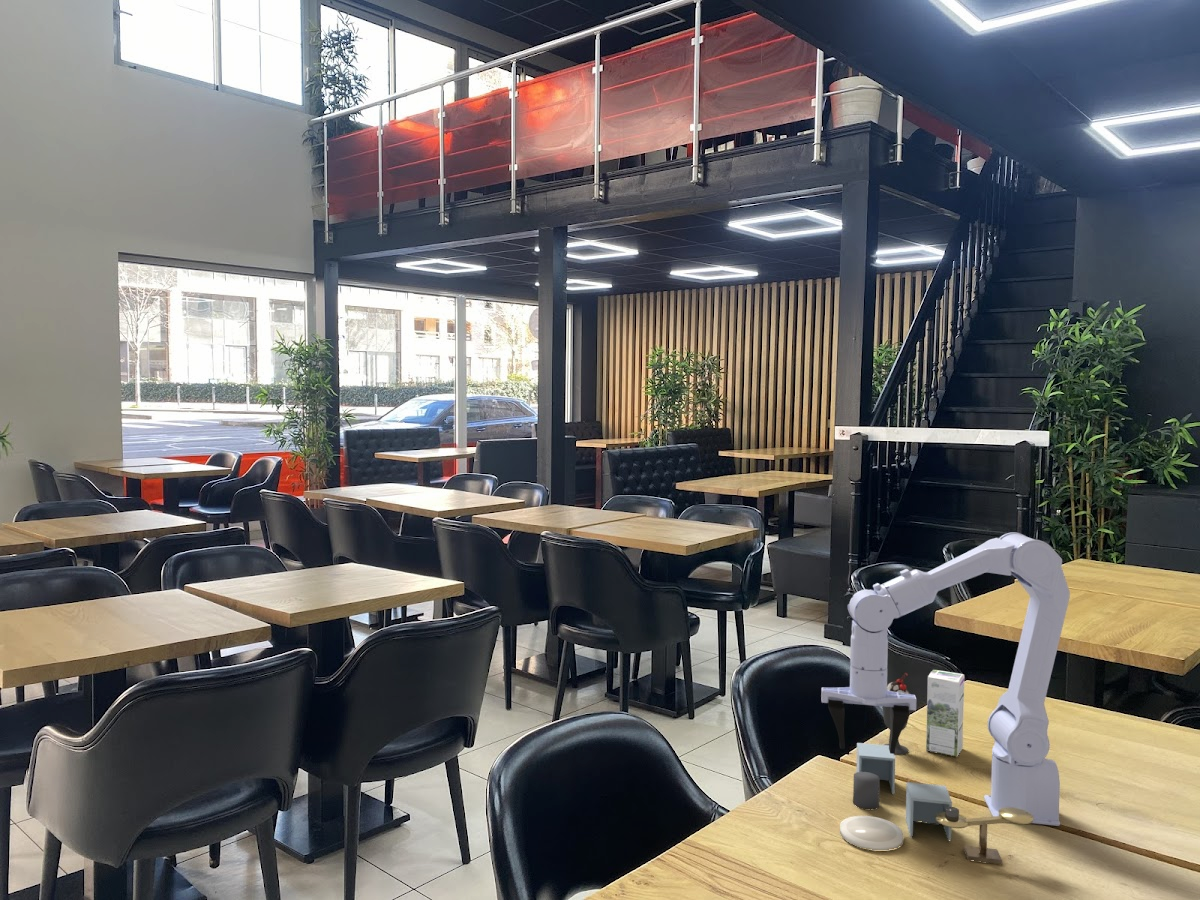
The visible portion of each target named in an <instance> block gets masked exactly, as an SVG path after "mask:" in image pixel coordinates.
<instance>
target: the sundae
mask: <svg viewBox="0 0 1200 900" xmlns="http://www.w3.org/2000/svg"><path fill="white" fill-rule="evenodd" d="M908 676H909V674H908V673H907V672H904V674H903V675H902V676H901V678H898V679H896V681H891V682H889V683H887V691H893V692H898V693H904V694H910V692H909V690H908V689H907V685H906V684H904V679H905V678H907V677H908ZM881 707H882V714H883V715H882V716H883V722H884V725H885V726H886V727H887V728H888V730H890V707H885V706H881ZM908 721H909V720H908ZM908 721H907V722H906V724H905V725H904V727H903V729H902V731H904V730H905V728H907V724H908ZM883 745H889V743H885V744H883ZM908 751H909V748H908V747H906V746H904V745H902V744H900V740H899V739H898V741H897V744H896V749H895V754H894V755H896V754H903V755H906V753H907V754H909V752H910V751H909V752H908Z"/></svg>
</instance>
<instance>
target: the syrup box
mask: <svg viewBox="0 0 1200 900" xmlns="http://www.w3.org/2000/svg"><path fill="white" fill-rule="evenodd" d="M926 689H927V692H926V693H927V694H926V695H927V696H926V698H927V701H926V734H925V737H926V740H925V741H926V742H925V746H926V747H925V750H926V752H928V751H930V752H929V753H933V752H937V753H936V754H938V753H941V754H940V755H942V754H947V755H952V756H958V755H960V754H961V752H962V750H963V746H964V744H963V743H964V735H963V734H964V731H963V730H964V702H965V700H964V699H965V674H963V673H958V672H953V671H951V672H950V671H945V670H938V669H932V671H930V673H929V674H928V675H927V688H926ZM960 751H961V752H960ZM959 753H960V754H959ZM947 755H946V756H947ZM952 756H951V757H952ZM958 757H959V756H958Z"/></svg>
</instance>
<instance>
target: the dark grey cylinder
mask: <svg viewBox="0 0 1200 900" xmlns="http://www.w3.org/2000/svg"><path fill="white" fill-rule="evenodd" d="M880 781H881V780H880V778H879V777H878V776H877V775H875V774H873V773H869V772H857V773H856V772H855V773H854V774H853V787H852V788H853V792H852V793H853V794H852V795H853V796H852V798H853V799H852V804H853V805H854V806H855V805H856V806H857V808H858V807H859V808H858V809H861V808H863V809H862V810H865V809H870V810H869V811H872V810H871V809H874V810H877V809H878V808H879V807H880ZM856 806H855V807H856ZM876 808H877V809H876Z"/></svg>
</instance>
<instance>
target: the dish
mask: <svg viewBox="0 0 1200 900" xmlns="http://www.w3.org/2000/svg"><path fill="white" fill-rule="evenodd" d="M839 834H841V835H840V837H841V836H842V837H843V838H842V837H841V838H842V839H843V840H844V839H845V840H846V841H847V843H848V842H849V843H851V844H853V845H856V846H858V847H861V848H866V849H872V850H889V849H894V848H898V847H899V846H901V845H902V846H903V844H904V833H903V830H902V829H901V827H899V825H897V824H895V823H893V822H892V821H890V820H887V819H884V818H882V817H876V816H869V815H854V816H849V817H846V818H845V819H843V820H842V821H841V822H840V823H839ZM845 840H844V841H845ZM846 841H845V842H846ZM849 843H848V844H849ZM902 843H903V844H902ZM851 844H850V845H851ZM853 845H852V846H853ZM902 846H901V847H902ZM858 847H857V848H858ZM861 848H860V849H861ZM898 849H899V848H898Z"/></svg>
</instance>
